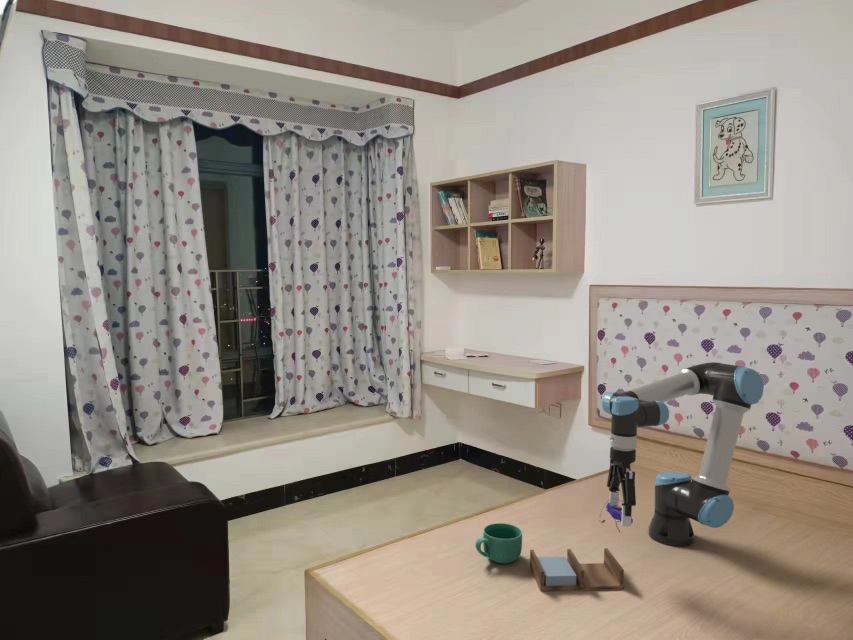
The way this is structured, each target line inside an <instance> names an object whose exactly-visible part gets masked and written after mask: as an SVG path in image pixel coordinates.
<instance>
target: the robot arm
mask: <svg viewBox="0 0 853 640" xmlns="http://www.w3.org/2000/svg"><path fill="white" fill-rule="evenodd" d="M763 382H764V381H763V379H762V377H761V375H760V373H759V372H758V371H756V370H755V369H754V368H750V367H745V366H743V365H742V366H741V365H734V364H727V363H722V362H716V361H715V362H714V361H712V362H711V361H710V362H705V363H704V362H703V363H700V364H697V365H696V364H695V365H692V366H688V367H685V368H683V369H681V370H679V372H678V373H677V374H673V375H671V376H669V377H666V378H662V379H659V380H656V381H653V382H651V383H647V384H645V385H642V386H638V387H637V388H636V387H635V388H633V389H631V390H627V391H623V392H620V393H618V392H616V391H615V392H614V391H610V392H607V393H606V394H605V395H604V396H603V398H602V401H601V407H602V409H603V411H604V412H605V413H606V414H609V415H611V429H610V437H609V440H610V448H609V458H610V459H609V470H608V476H607V481H606V486H607V488H608V491H609V498H608V500H609V501H608V502H610V503H612V504H614V505H617V506H619V501H620V499H619V498H620V493H619V492H620V491H621V493H622V494H621V495H622V500H623V502H624V503H623V502H622V503H621V508H622V510H621V512H622V520H621V521H620V523H621V524H620V525H621V526H622V527H631V526H632V524H631V516H632V513H633V510H632V509H633V507H634V506H636V505H637V503H636V499H637V497H636V496H637V495H636V482H635V480H636V479H635V478H636V472H635V471H632V468H631V464H632V463H635V462H636V456H637V450H636V448H637V444H638V443H637V442H638V440H637V439H638V428H646V427H658V426H662V425H665V424H666V423H667V422H668V421H669V420H670V419H669V418H670V410H669V408H668V405H666V403H667V402H669V401H672V400H675V399H678V398H681V397H684V396H686V395H687V396H695V395H700V394H702V395H708V396H709V395H710V396H712V397H713V398H712V402H713V403H714V406H715V408H714V413H713V417H712V421H711V425H710V428H709V433H708V435H707V436H708V437H707V440H706V444H705V448H704V451H703V455H702V460H701V463H700V468H699V472H698V474H697V475H696V476H694V477H692V476H691V474H689V473H687V472H681V471H664V472H659V473H658V474H657V475H656V477H655V483H654V513H653V516H652V518H651V520H650V523H649V526H648V535H649V537H650V538H651V539H652V540H654V541H655V542H658V543H661V544H664V545H668V546H675V547H684V546H685V547H686V546H690V545H692V544H693V543H694V542H695V532H694V528H693V526H692V523H691V520H693V521H695V522H697V523H699V524H701V525H703V526H707V527H709V528H713V529H716V528H721V527H723V526H724V525H725V524H727V523H728V522H729V520H730V519H731V517H732V516H733V513H734V510H735V505H734V500H733V499H732V498H731V496H729V495H730V488H729V486H728V485H727V481H728V477H729V472H730V469H731V465H732V461H733V457H734V455H735V454H734V453H735V449H736V446H737V441H738V438H739V433H740V429H741V426H742V421H743V418H744V414H745V413H747V412H749V411H751V407H752V405H755V404H757V403H759V401H760V400H761V399H762V398H763V395H764V383H763ZM620 486H621V489H620ZM610 499H611V500H610ZM618 499H619V500H618ZM632 517H633V516H632Z"/></svg>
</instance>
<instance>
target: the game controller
mask: <svg viewBox="0 0 853 640" xmlns="http://www.w3.org/2000/svg"><path fill="white" fill-rule="evenodd" d="M610 500H611V499H610ZM618 500H619V501H621V502H622V503H624V501H622V500H621V499H618ZM605 506H606V507H605ZM604 507H605V511H606V512H607V513H609V514H610V516H611V517H612V518H613V519H614V521H615V526H616V528H617V530H618V532H619V533H621V531H620V529H619V526H618V524H617V523H620V522H621V520H622V506H619V505H618V506H617V505H614V504H612V503H610V502H609V499H608V500H607V501H606V502H605V504H604V505H603V507H602V509H601V511H600V514H599V516H602V511H603V509H604ZM632 517H633V516H631V525H632V524H633V522H634V519H633V518H632ZM616 520H617V521H616ZM605 522H606V520H605V519H603V520H602V521H600V524H601V523H605Z"/></svg>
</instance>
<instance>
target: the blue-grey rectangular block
mask: <svg viewBox="0 0 853 640" xmlns="http://www.w3.org/2000/svg"><path fill="white" fill-rule="evenodd" d="M537 558H538V560H539V562H540V564H541V566H542V568H543V570H544V582H545V584H546V586H568V585H576V574H575V573H574V571H573V569H572V567H571V566H570V564H569V562H568V561H567V556H537Z"/></svg>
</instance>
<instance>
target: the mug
mask: <svg viewBox="0 0 853 640" xmlns="http://www.w3.org/2000/svg"><path fill="white" fill-rule="evenodd" d="M482 545H483V546H482ZM481 546H482V547H483V550H482V548H481ZM522 548H523V531H522V529H521V528H519V527H518V526H516V525H515V524H514V525H513V524H510V523H503V522H499V523H497V522H496V523H491V524H488V525H486V526H485V527H484V528H483V536H480V537H478V538H477V539H476V542H475V549H476V551H477V552H478V553H479V554H480V555H481V556H482V557H485V558H488V559H490V560H492V561H493V562H495V563H497V564H509V563H513V562H515V561H516V560H518V559H519V558H520V556H521V553H522Z"/></svg>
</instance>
